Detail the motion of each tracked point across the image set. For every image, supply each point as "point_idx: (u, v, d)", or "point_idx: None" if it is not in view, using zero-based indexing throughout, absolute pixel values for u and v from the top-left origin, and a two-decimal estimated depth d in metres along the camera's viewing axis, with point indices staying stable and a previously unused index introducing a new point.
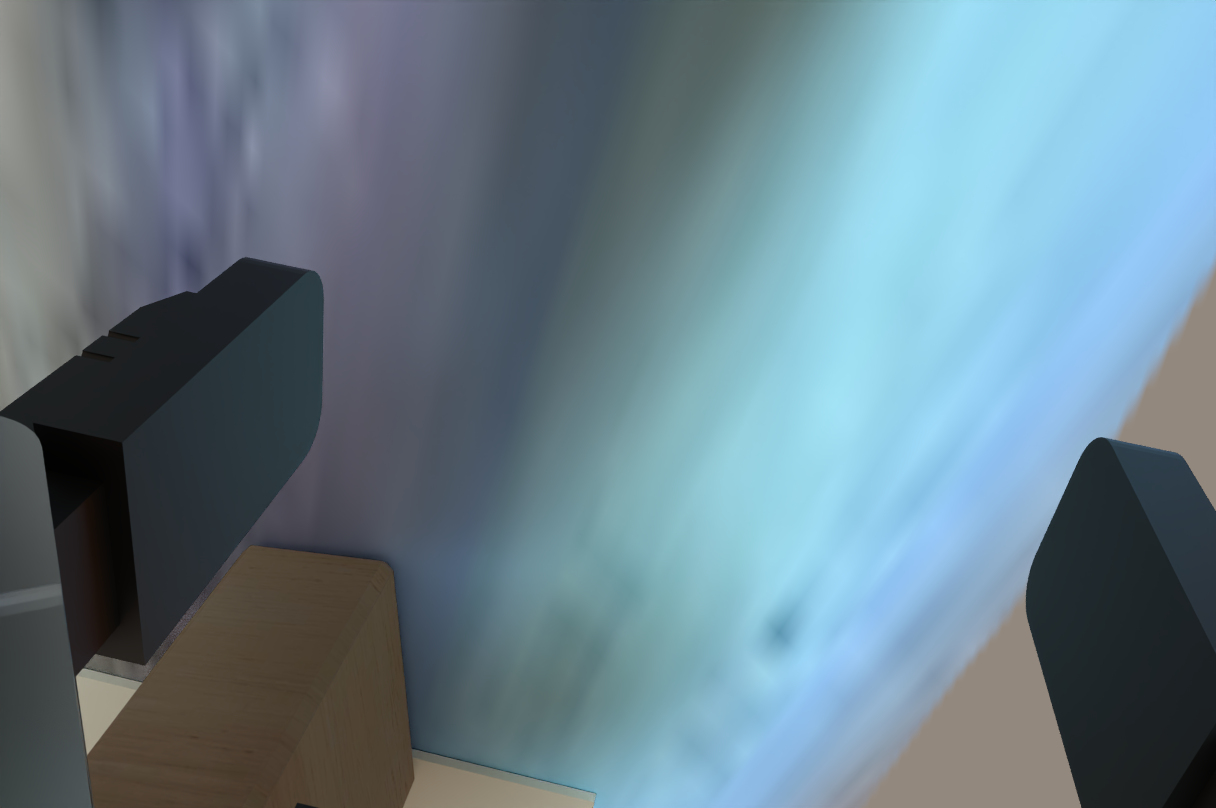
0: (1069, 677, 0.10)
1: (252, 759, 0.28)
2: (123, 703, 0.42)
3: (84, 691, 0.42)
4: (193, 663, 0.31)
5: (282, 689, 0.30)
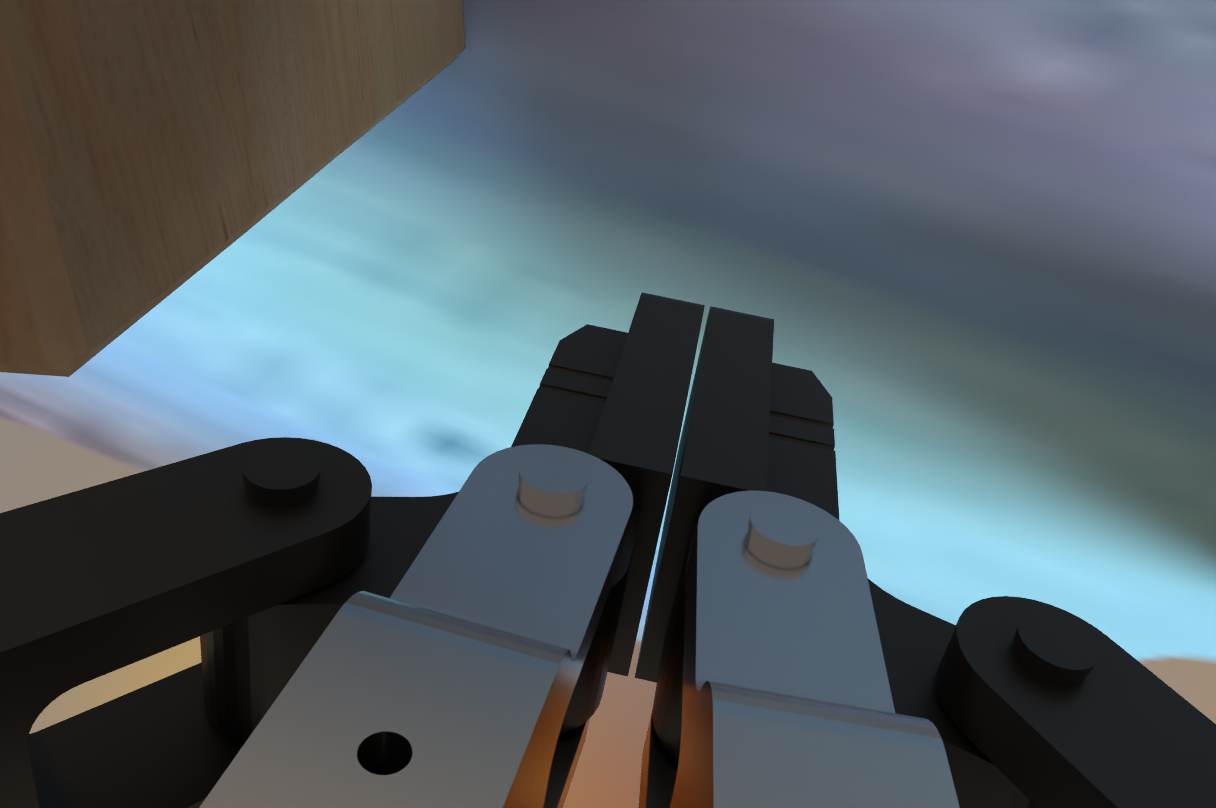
0: (666, 514, 0.11)
1: (360, 109, 0.22)
2: None
3: None
4: None
5: (396, 67, 0.24)
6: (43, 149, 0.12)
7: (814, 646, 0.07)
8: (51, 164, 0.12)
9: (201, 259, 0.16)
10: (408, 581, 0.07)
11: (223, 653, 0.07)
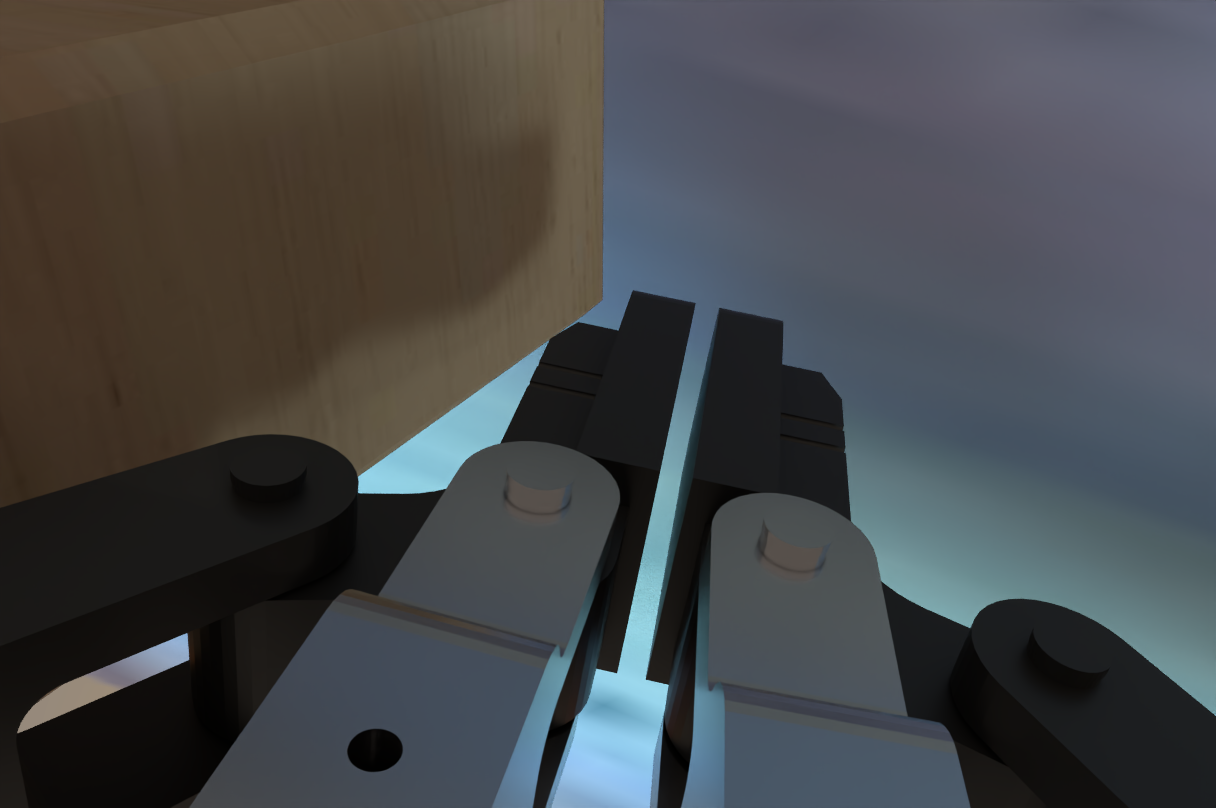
0: (676, 516, 0.11)
1: None
2: None
3: None
4: (312, 152, 0.10)
5: (316, 438, 0.11)
6: None
7: (826, 648, 0.07)
8: None
9: None
10: (395, 578, 0.07)
11: (210, 650, 0.07)
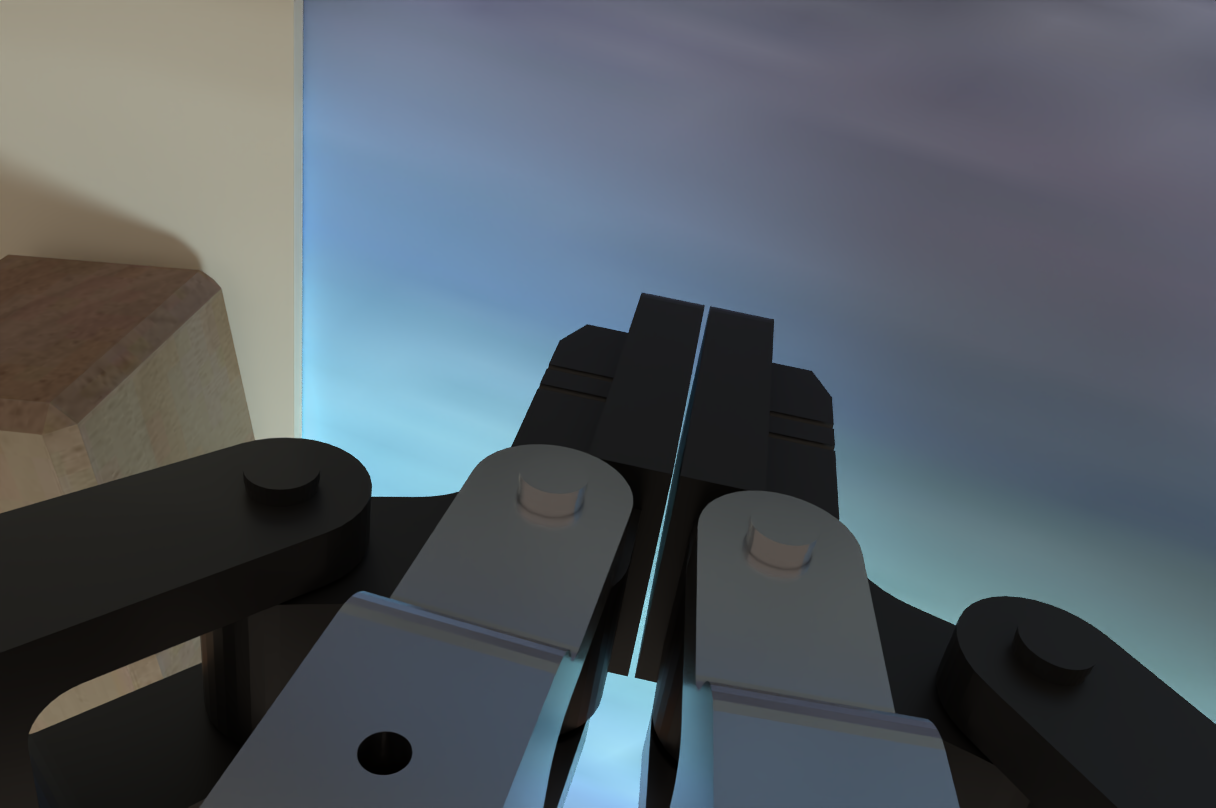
0: (666, 514, 0.11)
1: None
2: None
3: None
4: None
5: None
6: None
7: (815, 644, 0.07)
8: None
9: None
10: (409, 579, 0.07)
11: (222, 653, 0.07)
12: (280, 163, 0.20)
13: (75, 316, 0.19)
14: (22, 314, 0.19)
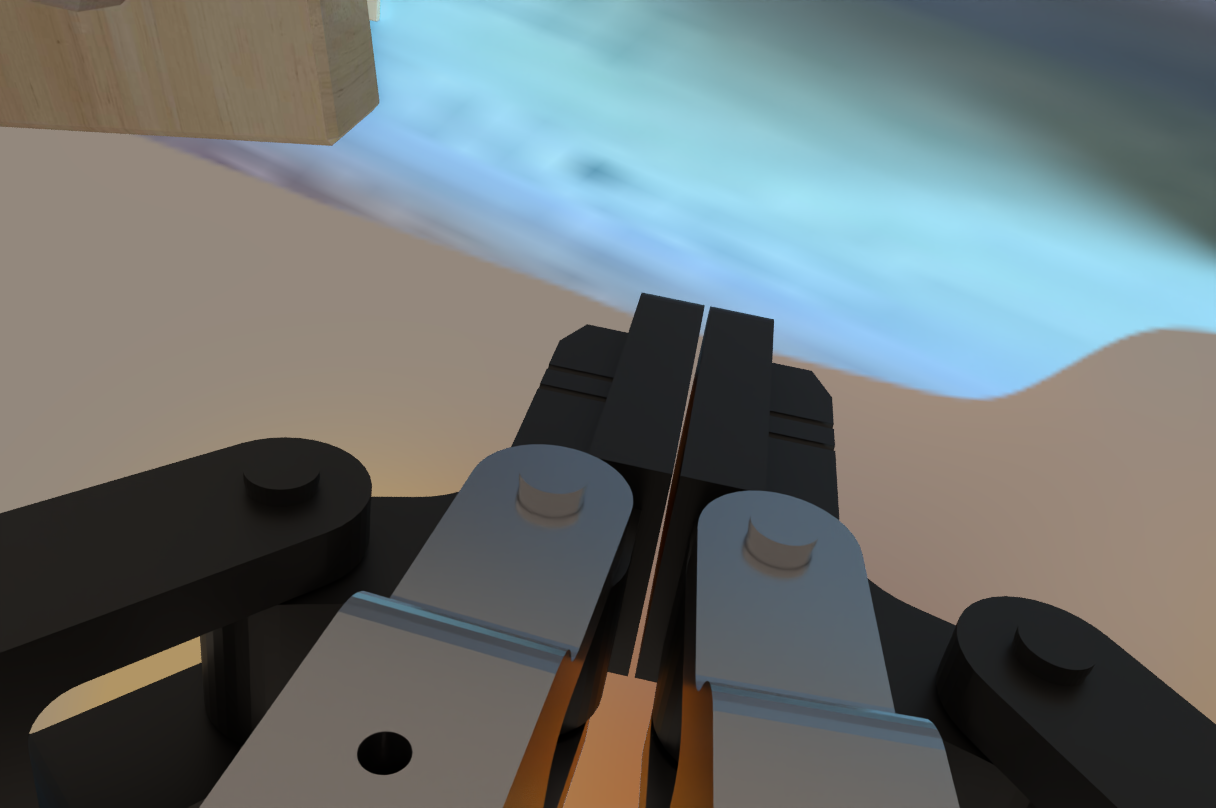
0: (666, 514, 0.11)
1: None
2: None
3: None
4: None
5: None
6: None
7: (814, 646, 0.07)
8: None
9: None
10: (408, 581, 0.07)
11: (223, 653, 0.07)
12: None
13: None
14: None
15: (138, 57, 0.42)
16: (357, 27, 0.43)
